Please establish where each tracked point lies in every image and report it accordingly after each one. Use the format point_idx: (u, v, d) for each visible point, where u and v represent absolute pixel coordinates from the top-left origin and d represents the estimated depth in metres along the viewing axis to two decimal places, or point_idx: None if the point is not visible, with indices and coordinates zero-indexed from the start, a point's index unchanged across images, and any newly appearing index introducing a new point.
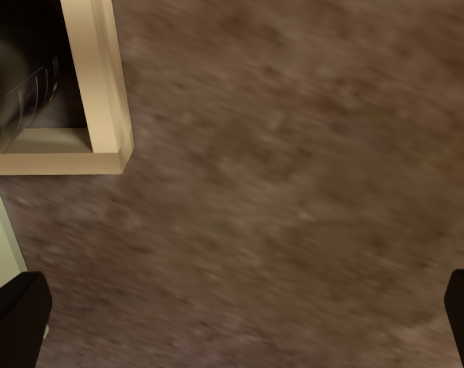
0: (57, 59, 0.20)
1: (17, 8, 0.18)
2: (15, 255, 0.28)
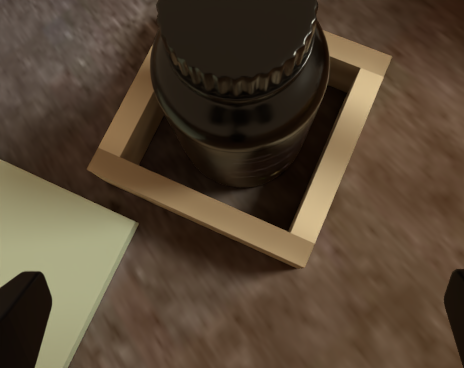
0: None
1: None
2: (80, 333, 0.22)
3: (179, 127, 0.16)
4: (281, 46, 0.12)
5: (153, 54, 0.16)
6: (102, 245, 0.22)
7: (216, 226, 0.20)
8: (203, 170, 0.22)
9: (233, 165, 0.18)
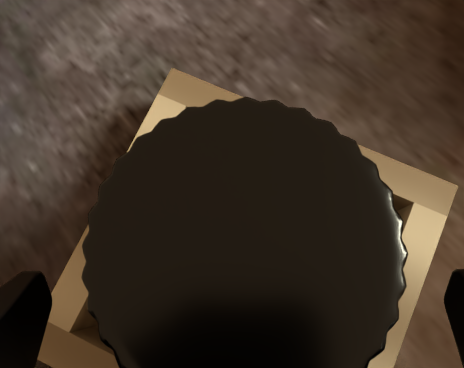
0: None
1: None
2: None
3: None
4: (336, 353, 0.06)
5: None
6: None
7: None
8: None
9: None
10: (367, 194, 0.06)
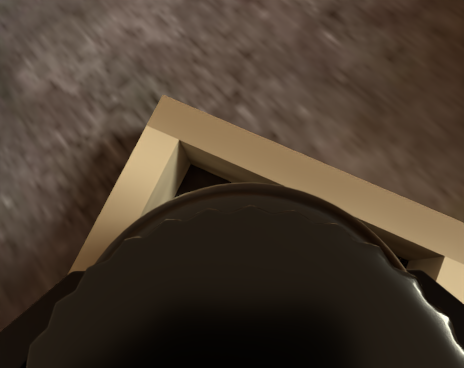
0: None
1: None
2: None
3: None
4: None
5: None
6: None
7: None
8: None
9: None
10: None
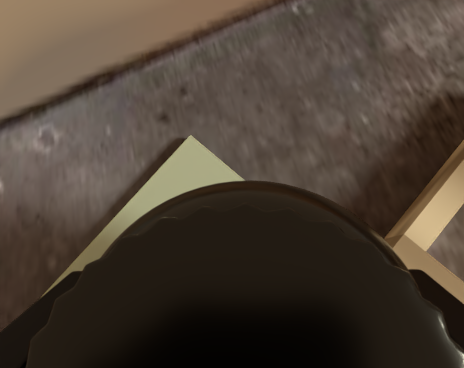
0: None
1: None
2: None
3: None
4: None
5: None
6: None
7: None
8: None
9: None
10: (431, 363, 0.04)
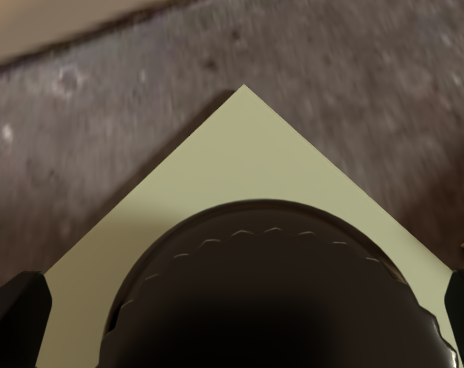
0: None
1: None
2: None
3: None
4: None
5: None
6: None
7: None
8: None
9: None
10: (427, 357, 0.05)
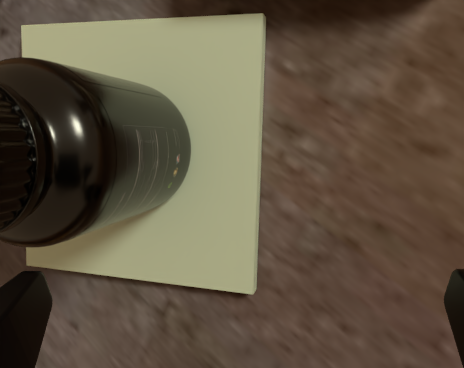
0: (177, 131, 0.20)
1: (140, 87, 0.20)
2: (259, 142, 0.22)
3: (31, 247, 0.16)
4: None
5: None
6: (241, 52, 0.21)
7: None
8: None
9: (115, 218, 0.17)
10: None
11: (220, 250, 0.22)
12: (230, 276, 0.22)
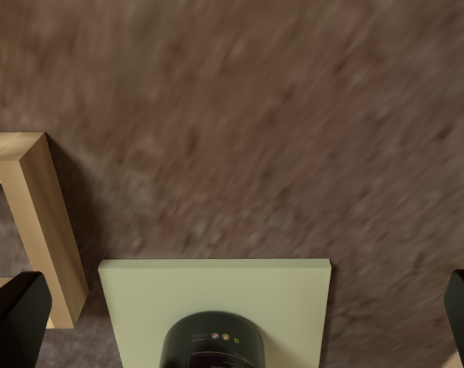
0: (194, 334, 0.26)
1: (162, 363, 0.26)
2: (199, 266, 0.26)
3: None
4: None
5: None
6: (129, 280, 0.26)
7: (42, 237, 0.22)
8: (265, 364, 0.27)
9: None
10: None
11: (293, 289, 0.27)
12: (316, 282, 0.26)
